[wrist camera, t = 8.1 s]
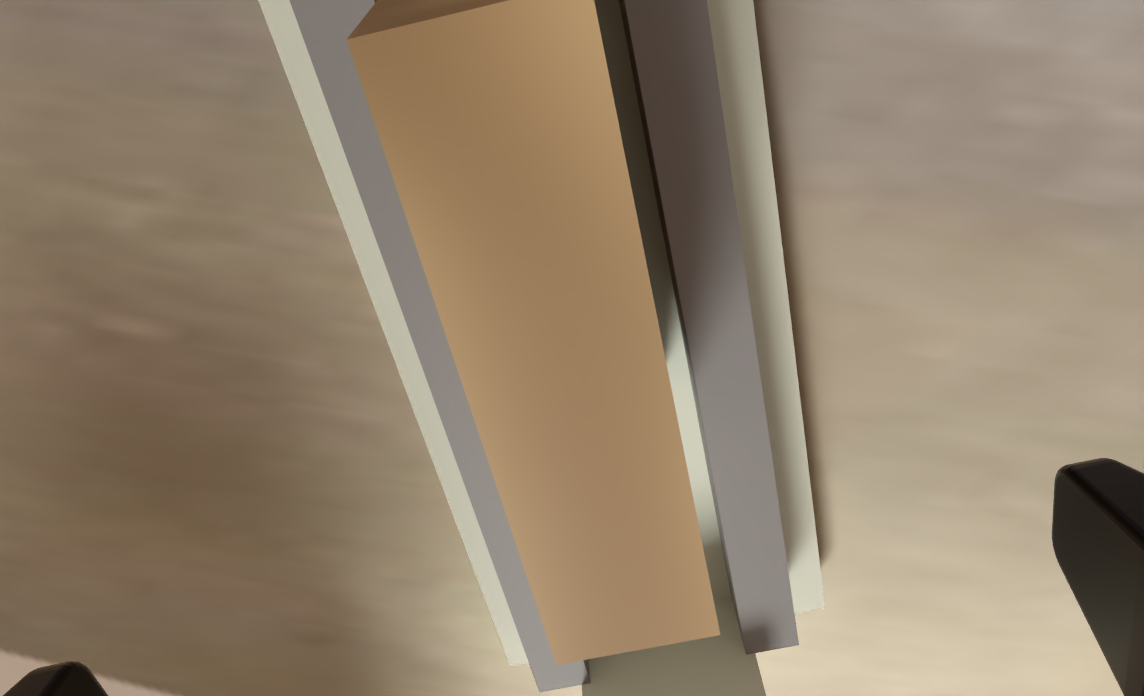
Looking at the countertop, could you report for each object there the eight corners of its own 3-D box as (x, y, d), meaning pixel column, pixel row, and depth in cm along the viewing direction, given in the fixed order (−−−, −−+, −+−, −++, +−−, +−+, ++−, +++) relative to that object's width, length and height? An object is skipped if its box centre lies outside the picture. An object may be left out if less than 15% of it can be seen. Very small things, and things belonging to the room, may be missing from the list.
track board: (694, -386, 14) (749, -450, 10) (814, 578, 24) (862, 710, 20) (185, -247, 14) (75, -264, 11) (510, 636, 24) (507, 772, 21)
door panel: (566, -92, 15) (591, -20, 9) (661, 375, 19) (720, 635, 13) (421, -56, 15) (346, 39, 9) (549, 398, 19) (556, 664, 13)
